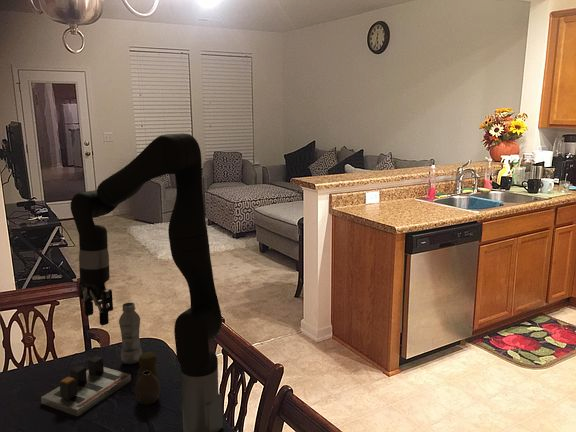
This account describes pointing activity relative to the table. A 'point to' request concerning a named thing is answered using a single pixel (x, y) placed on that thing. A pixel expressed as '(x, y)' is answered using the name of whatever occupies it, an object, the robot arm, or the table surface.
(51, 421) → the table surface
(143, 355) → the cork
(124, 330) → the plastic bottle
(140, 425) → the table surface
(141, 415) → the table surface
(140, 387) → the vase
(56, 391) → the breaker panel
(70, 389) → the breaker handle
